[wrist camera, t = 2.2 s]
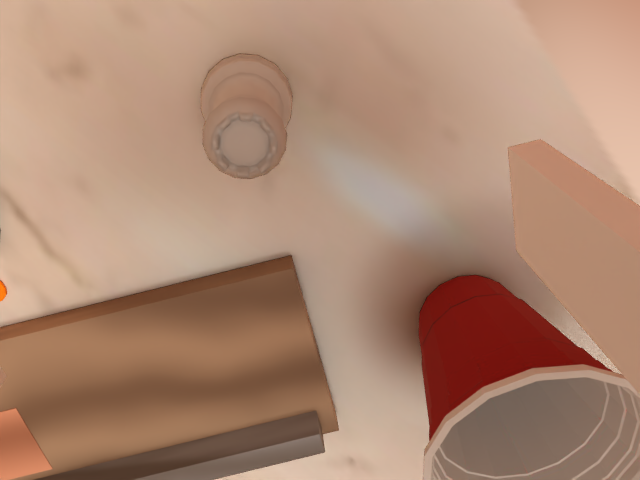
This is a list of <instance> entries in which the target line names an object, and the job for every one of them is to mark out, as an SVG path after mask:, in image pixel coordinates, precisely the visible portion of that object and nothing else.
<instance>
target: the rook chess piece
mask: <svg viewBox="0 0 640 480" xmlns="http://www.w3.org/2000/svg"><path fill="white" fill-rule="evenodd" d="M292 97H293V96H292V92H291V89H290V86H289V83H288V80H287V78H286V77H285V75H284V74H283V73H282V72H281V71H280V69H279V68H278V67H277V66H276V65H275V64H274V63H272V62H270V61H268V60H266V59H264V58H262V57H260V56H259V55H248V54H238V55H235V56H232V57H229V58H226V59H223V60H221V61H220V62H219V63H218V64H217V65H216V66H215V67H213V68H212V69H211V70H210V71H209V72H208V74H207V77H206V79H205V81H204V83H203V86H202V88H201V112H202V115H203V117H204V120H205V125H204V127H203V147H204V149H205V151H206V154H207V156H208V159H209V160H210V161H211V162H212V163H213V164H214V165H215V166H216V167H217V168H218V169H219V171H221V172H223V173H225V174H227V175H230V176H232V177H234V178H244V179H252V178H256V177H259V176H262V175H265V174H267V173H268V172H269V171H271V170H272V169H273V168H274V167H275V166H277V165H278V164H279V162H280V160H281V158H282V156H283V154H284V152H285V151H286V141H287V133H286V130H285V128H286V126H287V124H288V122H289V120H290V118H291V109H292Z"/></svg>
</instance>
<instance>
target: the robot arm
mask: <svg viewBox="0 0 640 480" xmlns="http://www.w3.org/2000/svg"><path fill="white" fill-rule="evenodd" d="M508 154H509V166H510V179H511V191H512V204H513V216H514V229H515V241H516V251H517V252H518V253H519V255H520V256H521V257H522V258H523V259H524V260H525V262H526V263H527V264H528V265H529V266H530V267H531V269H532V270H533V271H534V272H535V273H536V274H537V276H538V277H539V278H540V279H541V280H542V281H543V283H544V284H545V285H546V286H547V287H548V288H549V290H550V291H551V292H552V293H553V294H554V295H555V296H556V298H557V299H558V300H559V301H560V302H561V303H562V305H563V306H564V307H565V308H566V309H567V310H568V312H569V313H570V314H571V315H572V316H573V317H574V319H575V320H576V321H577V322H578V323H579V324H580V326H581V327H582V328H583V329H584V330H585V331H586V333H587V334H588V335H589V336H590V337H591V338H592V340H593V341H594V342H595V343H596V344H597V345H598V346H599V348H600V349H601V350H602V351H603V352H604V353H605V355H606V356H607V357H608V358H609V359H610V360H611V362H612V363H613V364H614V365H615V366H616V367H617V369H618V370H619V371H620V372H621V373H622V374H623V376H624V377H625V378H626V379H627V380H628V381H629V383H630V384H631V385H632V386H633V387H634V388H635V390H636V391H637V392H638V393H639V394H640V206H639V205H637V204H636V203H634V202H633V201H631V200H630V199H628V198H627V197H625V196H624V195H623V194H621V193H620V192H618V191H617V190H615V189H614V188H612V187H611V186H609V185H608V184H606V183H605V182H603V181H602V180H600V179H599V178H597V177H596V176H594V175H593V174H591V173H590V172H589V171H587V170H586V169H584V168H583V167H581V166H580V165H578V164H577V163H575V162H574V161H572V160H571V159H569V158H568V157H566V156H565V155H563V154H562V153H560V152H559V151H557V150H556V149H555V148H553V147H552V146H550V145H549V144H547V143H546V142H544V141H543V140H541V139H539V140H535V141H531V142H527V143H523V144H519V145H515V146H511V147H508ZM6 377H7V376H6V374H5V373H4V371H3V369H2V368H1V366H0V387H1V385H2V384H3V382H4V380H5V378H6Z"/></svg>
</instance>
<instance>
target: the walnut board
mask: <svg viewBox="0 0 640 480" xmlns="http://www.w3.org/2000/svg"><path fill="white" fill-rule="evenodd" d="M0 366H1V368H2V369H3V371H4V373H5V374H6V376H7V377H6V378H5V380H4V382H3V384H2V385H1V387H0V480H214V479H218V478H222V477H226V476H230V475H234V474H238V473H243V472H247V471H251V470H255V469H259V468H263V467H267V466H271V465H275V464H279V463H283V462H288V461H292V460H296V459H300V458H304V457H308V456H312V455H316V454H320V453H324V452H325V448H324V441H323V434H325V433H329V432H333V431H338V430H339V428H338V422H337V416H336V412H335V408H334V405H333V401H332V398H331V394H330V391H329V387H328V384H327V380H326V376H325V373H324V369H323V366H322V362H321V359H320V355H319V352H318V348H317V345H316V341H315V338H314V334H313V331H312V327H311V323H310V320H309V316H308V313H307V309H306V306H305V302H304V299H303V295H302V292H301V288H300V285H299V281H298V277H297V274H296V270H295V267H294V263H293V260H292V256H287V257H283V258H279V259H275V260H271V261H267V262H263V263H259V264H255V265H251V266H247V267H243V268H239V269H235V270H231V271H226V272H222V273H218V274H214V275H210V276H206V277H202V278H198V279H194V280H190V281H186V282H182V283H178V284H174V285H170V286H166V287H162V288H158V289H154V290H150V291H146V292H142V293H138V294H134V295H130V296H126V297H122V298H118V299H114V300H110V301H106V302H102V303H98V304H94V305H90V306H86V307H82V308H78V309H73V310H69V311H65V312H61V313H57V314H53V315H49V316H45V317H41V318H37V319H33V320H29V321H25V322H21V323H17V324H13V325H9V326H5V327H1V328H0Z"/></svg>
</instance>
